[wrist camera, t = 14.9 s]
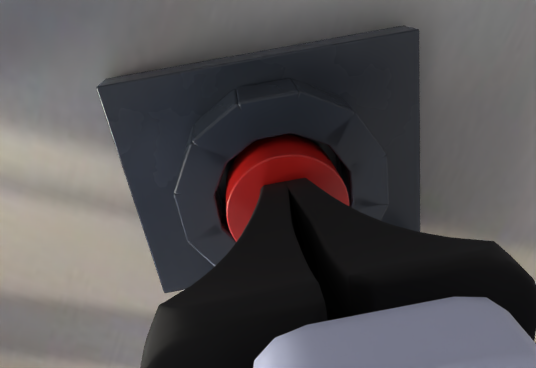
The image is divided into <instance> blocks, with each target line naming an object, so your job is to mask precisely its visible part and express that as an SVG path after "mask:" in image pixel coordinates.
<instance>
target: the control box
mask: <svg viewBox="0 0 536 368" xmlns="http://www.w3.org/2000/svg"><path fill="white" fill-rule="evenodd" d="M96 89H97V92H98V95H99V98H100V101H101V104H102V107H103V110H104V113H105V116H106V119H107V122H108V125H109V128H110V131H111V134H112V137H113V140H114V143H115V146H116V149H117V152H118V155H119V158H120V161H121V164H122V167H123V170H124V173H125V176H126V179H127V182H128V185H129V188H130V191H131V194H132V197H133V200H134V203H135V206H136V209H137V212H138V215H139V218H140V221H141V224H142V227H143V230H144V233H145V236H146V239H147V242H148V245H149V248H150V251H151V254H152V257H153V260H154V264H155V267H156V270H157V273H158V276H159V279H160V282H161V285H162V288H163V291H164V293H168V292H174V291H179V290H184V289H187V288H188V287H190V286H191V285H193V284H194V283H195V282H197V281H198V280H199V279H201V278H202V277H203V276H204V275H206V274H207V273H208V272H209V271H210V270H211V269H213V268H214V267H215V266H216V265H217V264H218V263H219V262H220V261H221V260H222V259H223V258H224V257H225V256H226V255H227V253H228V252H229V251H230V250H231V249H232V247H233V246H234V245H235V243H236V241H235V239H234V238H233V236H232V234H231V232H230V230H229V227H228V224H227V218H226V179H227V175H228V172H229V169H230V167H231V165H232V163H233V162H234V160H235V159H236V157H237V156H238V155H239V154H240V153H241V152H242V151H243V150H244V149H245V148H246V147H248V146H249V145H251V144H252V143H254V142H256V141H258V140H260V139H263V138H268V137H274V136H279V135H294V136H299V137H302V138H305V139H307V140H310V141H311V142H313V143H315V144H316V145H318V146H319V147H320V148H321V149H322V150H323V151H324V152H325V153H326V154H327V156H328V157H329V158H330V160H331V162H332V163H333V165H334V167H335V168H336V170H337V172H338V173H339V175H340V177H341V178H342V180H343V182H344V184H345V186H346V189H347V192H348V196H349V206H350V207H352V208H353V209H355V210H357V211H359V212H361V213H363V214H366V215H368V216H370V217H373V218H376V219H378V220H381V221H383V222H386V223H389V224H392V225H395V226H399V227H402V228H406V229H410V230H413V231H418V232H420V103H419V29H415V28H411V27H408V26H398V27H393V28H387V29H382V30H376V31H370V32H365V33H359V34H354V35H348V36H343V37H337V38H331V39H326V40H320V41H315V42H309V43H303V44H298V45H292V46H287V47H281V48H276V49H270V50H264V51H259V52H253V53H248V54H242V55H236V56H231V57H225V58H220V59H214V60H209V61H203V62H197V63H192V64H186V65H181V66H175V67H170V68H164V69H158V70H153V71H147V72H142V73H136V74H130V75H125V76H119V77H114V78H108V79H105V80H104V81H103V82H102V83H101V84H100V85H98V86H97V88H96Z"/></svg>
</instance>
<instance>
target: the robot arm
mask: <svg viewBox="0 0 536 368" xmlns="http://www.w3.org/2000/svg"><path fill="white" fill-rule="evenodd" d="M535 332H536V284H535V281H534V279H533V278H532V277H531V276H530V275H529V274H528V273H527V272H526V271H525V270H524V269H523V268H522V267H521V266H520V265H519V264H518V263H517V262H516V261H515V260H514V259H513V258H512V257H511V256H510V255H509V254H508V253H507V252H506V251H505V250H504V249H502V248H501V247H500V246H499V245H498V244H496V243H495V242H494V241H484V240H472V239H460V238H451V237H444V236H438V235H432V234H427V233H422V232H418V231H413V230H410V229H406V228H402V227H399V226H395V225H392V224H389V223H386V222H383V221H381V220H378V219H376V218H373V217H370V216H368V215H366V214H363V213H361V212H359V211H357V210H355V209H353V208H352V207H350V206H348V205H346V204H344V203H342V202H341V201H339V200H337V199H336V198H334V197H332V196H331V195H329V194H328V193H326V192H325V191H324V190H322V189H321V188H319V187H318V186H317V185H315V184H314V183H312V182H311V181H310V180H308V179H307V178H300V179H294V180H289V181H284V182H278V183H273V184H267V185H263V187H262V188H261V189H260V195H259V199H258V202H257V204H256V207H255V209H254V211H253V214H252V216H251V218H250V220H249V222H248V224H247V226H246V227H245V229H244V231H243V233H242V234H241V236H240V237H239V239H238V240H237V242H236V243H235V245H234V246H233V247H232V249H231V250H230V251H229V252H228V253H227V255H226V256H225V257H224V258H223V259H222V260H221V261H220V262H219V263H218V264H217V265H216V266H215V267H214V268H213V269H211V270H210V271H209V272H208V273H207V274H206V275H204V276H203V277H202V278H201V279H199V280H198V281H197V282H195V283H194V284H193V285H191V286H190V287H188V288H187V289H185V290H184V291H182V292H180V293H179V294H177V295H175V296H174V297H172V298H171V299H169V300H167V301H166V302H164V303H162V304H160V305H159V306H158V309H157V311H156V314H155V317H154V319H153V322H152V324H151V327H150V330H149V333H148V336H147V339H146V342H145V346H144V351H143V356H142V362H141V367H140V368H536V343H535V342H534V339H535Z"/></svg>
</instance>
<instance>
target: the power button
mask: <svg viewBox="0 0 536 368" xmlns="http://www.w3.org/2000/svg"><path fill="white" fill-rule="evenodd" d="M300 178H307V179H308V180H310V181H311V182H312V183H314V184H315V185H317V186H318V187H319V188H321V189H322V190H324V191H325V192H326V193H328V194H329V195H331V196H332V197H334V198H336V199H337V200H339V201H341V202H342V203H344V204H346V205H348V206H349V196H348V192H347V189H346V186H345V184H344V182H343V180H342V178H341V177H340V175H339V173H338V172H337V170H336V168H335V167H334V165H333V163H332V162H331V160H330V158H329V157H328V156H327V154H326V153H325V152H324V151H323V150H322V149H321V148H320V147H319V146H318V145H316V144H315V143H313V142H311V141H310V140H307V139H305V138H302V137H299V136H294V135H279V136H274V137H268V138H263V139H260V140H258V141H256V142H254V143H252V144H251V145H249V146H248V147H246V148H245V149H244V150H243V151H242V152H241V153H240V154H239V155H238V156H237V157H236V159H235V160H234V162H233V163H232V165H231V167H230V169H229V172H228V175H227V179H226V218H227V224H228V227H229V230H230V232H231V234H232V236H233V238H234V239H235V241H236V242H237V240H238V239H239V237H240V236H241V234H242V233H243V231H244V229H245V227H246V226H247V224H248V222H249V220H250V218H251V216H252V214H253V211H254V209H255V207H256V204H257V202H258V199H259V195H260V189H261V188H262V187H263V185H267V184H273V183H278V182H284V181H289V180H294V179H300Z"/></svg>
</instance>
